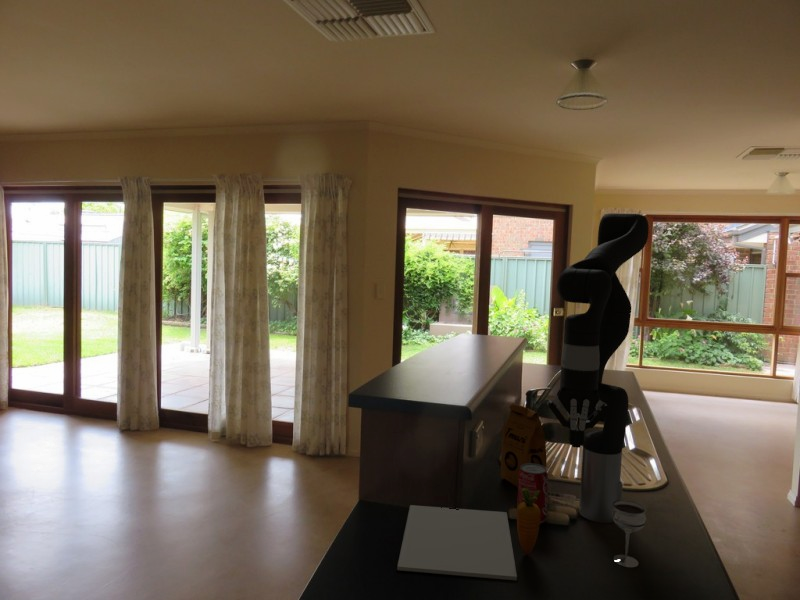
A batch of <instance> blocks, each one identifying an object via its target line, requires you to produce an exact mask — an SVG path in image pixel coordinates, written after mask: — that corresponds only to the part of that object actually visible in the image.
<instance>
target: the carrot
mask: <svg viewBox="0 0 800 600" xmlns="http://www.w3.org/2000/svg"><path fill="white" fill-rule="evenodd" d="M522 493H523V496H524V498H522V500H523V501H524V502H523V503H521V504H520V505H518V507H517V506H516V507H517V508H516V528H517V536H518V541H519V545H520V548H521V549H522V551H523V554H524V555H525V556H529V555H530V554H531V552H532V551H533V549H534V547H535V545H536V543H537V539H538V535H539V531H540V525H541V524H540V509H539V507H538V506H537V505H536V504H534V501H535V500H537V496H538V494H539V493H540V491H539V490H537V491H536V492H535V494H534V496H533V498H531V495H530V492H529V490H528V489H526V490H525V488H523V489H522ZM527 495H528V496H527ZM528 498H529V500H528ZM531 499H532V501H531Z"/></svg>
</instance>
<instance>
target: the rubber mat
mask: <svg viewBox="0 0 800 600" xmlns="http://www.w3.org/2000/svg"><path fill="white" fill-rule="evenodd" d="M449 508H450V507H442V508H441V506H429V505H427V506H425V505H414V504H413V505H412V504H410V506H409V508H408V509H409V510H408V514H407V518H406V524H405V528H404V532H403V539H402V543H401V548H400V551H399V552H400V553H399V558H398V561H397V566H396V567H397V571H404V572H415V573H425V574H426V573H427V574H437V575H449V576H460V577H472V578H473V577H474V578H484V579H497V580H507V581H517V579H518V575H517V570H516V562H515V556H514V550H513V545H512V538H511V531H510V526H509V525H510V524H509V520H508V519H509V518H508V512H507V511H506V512H505V511H495V510H480V509H469V508H468V509H467V508H458V509H459V510H456V509H457V508H456V509H449Z"/></svg>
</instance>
